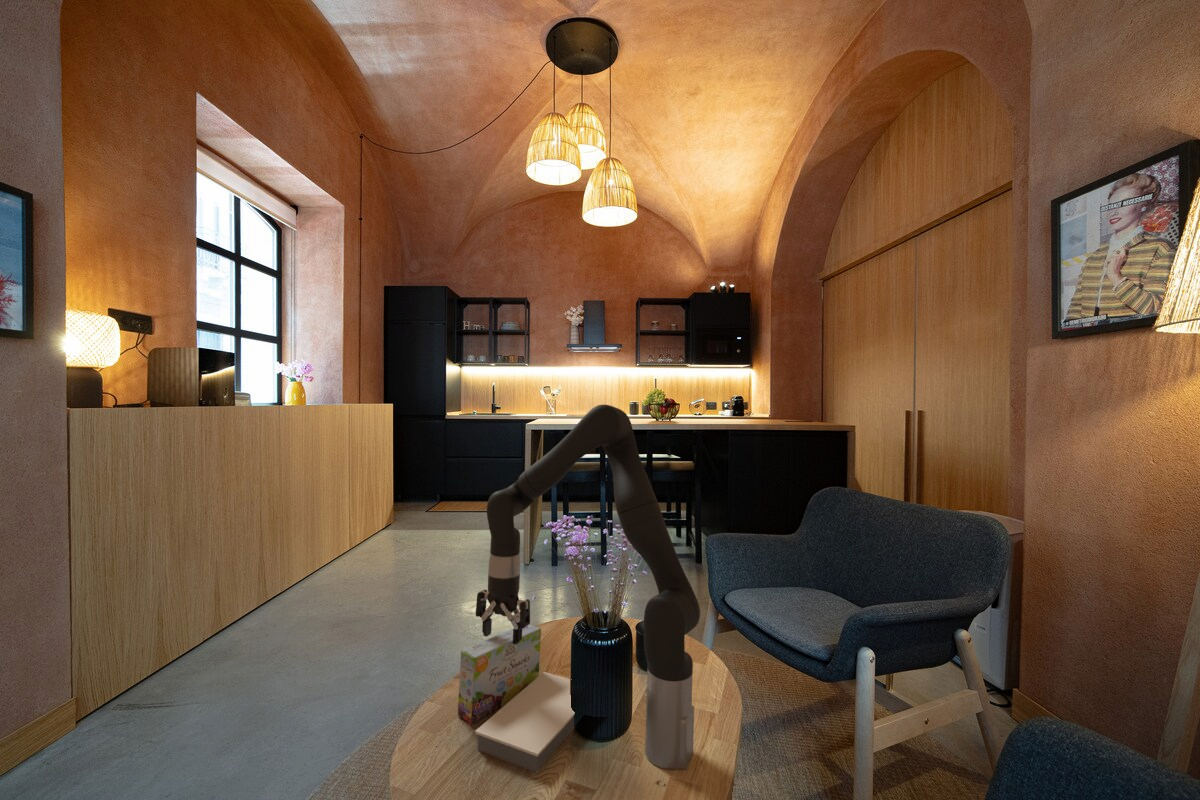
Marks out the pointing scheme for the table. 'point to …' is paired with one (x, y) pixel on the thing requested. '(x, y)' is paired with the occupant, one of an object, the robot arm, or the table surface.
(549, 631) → the table surface
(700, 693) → the table surface
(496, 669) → the snack box
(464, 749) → the table surface
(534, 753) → the display podium
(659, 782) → the table surface
